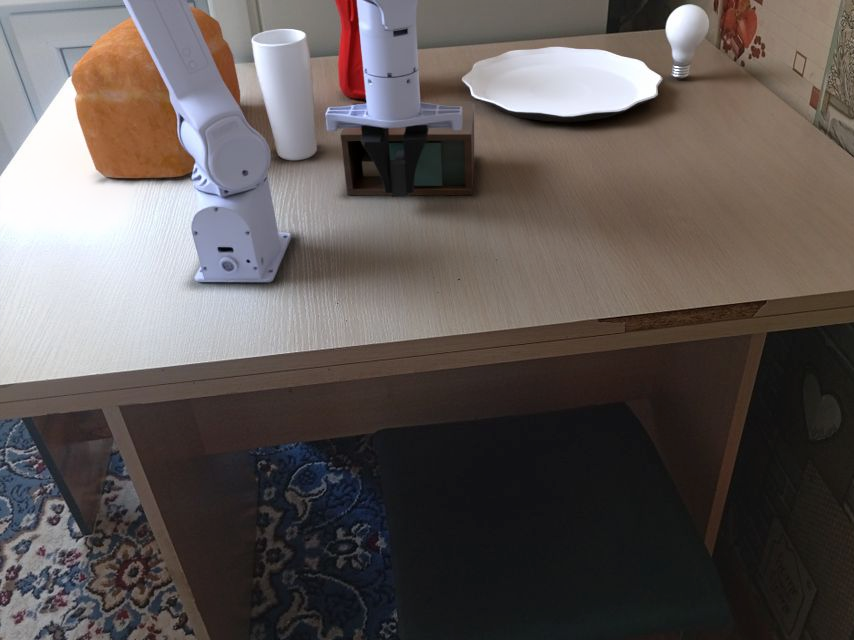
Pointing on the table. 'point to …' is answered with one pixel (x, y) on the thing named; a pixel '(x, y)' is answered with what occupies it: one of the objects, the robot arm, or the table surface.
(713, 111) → the table surface
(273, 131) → the white cylinder
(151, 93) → the bread
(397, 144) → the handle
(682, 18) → the lightbulb
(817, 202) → the table surface
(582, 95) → the plate
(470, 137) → the cupboard
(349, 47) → the water bottle
